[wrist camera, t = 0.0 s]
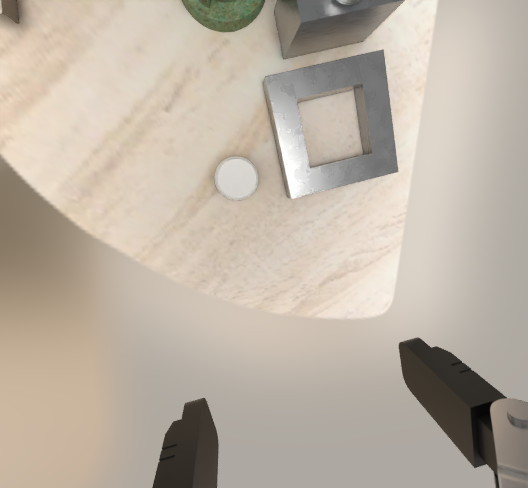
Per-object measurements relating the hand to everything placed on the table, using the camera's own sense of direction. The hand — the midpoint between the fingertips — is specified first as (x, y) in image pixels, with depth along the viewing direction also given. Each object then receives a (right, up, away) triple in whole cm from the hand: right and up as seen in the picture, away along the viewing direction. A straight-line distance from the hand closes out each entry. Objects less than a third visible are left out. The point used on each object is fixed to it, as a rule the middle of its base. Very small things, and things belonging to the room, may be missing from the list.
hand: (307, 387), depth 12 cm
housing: (+6, +23, +25) cm, 35 cm away
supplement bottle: (-5, +14, +27) cm, 31 cm away
